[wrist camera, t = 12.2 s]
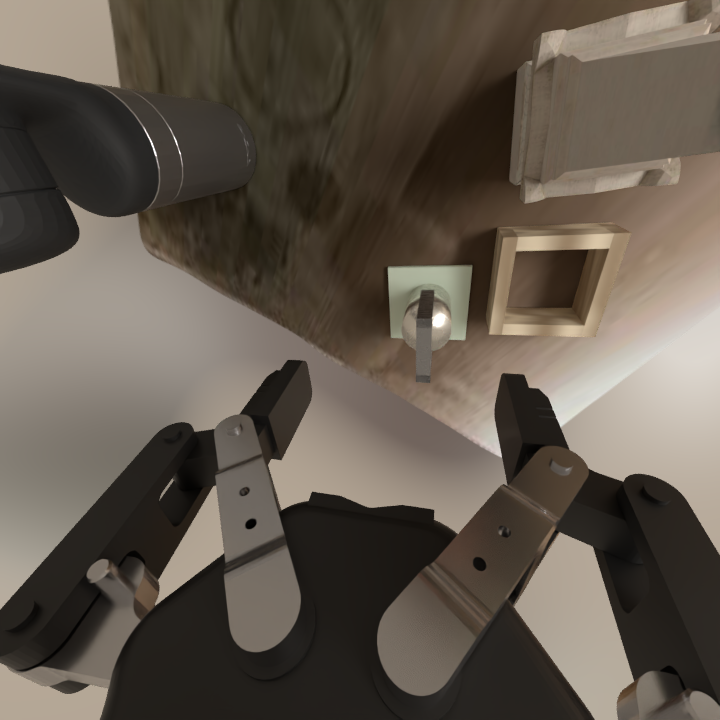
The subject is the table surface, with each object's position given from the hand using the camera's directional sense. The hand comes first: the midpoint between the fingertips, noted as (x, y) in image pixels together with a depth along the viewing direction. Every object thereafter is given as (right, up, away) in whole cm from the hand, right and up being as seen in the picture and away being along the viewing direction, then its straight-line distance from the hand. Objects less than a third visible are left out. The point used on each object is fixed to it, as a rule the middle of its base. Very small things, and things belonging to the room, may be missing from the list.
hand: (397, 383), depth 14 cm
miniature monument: (+19, +25, +19) cm, 37 cm away
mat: (+8, +9, +33) cm, 35 cm away
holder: (+22, +12, +28) cm, 37 cm away
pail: (+8, +9, +32) cm, 35 cm away
